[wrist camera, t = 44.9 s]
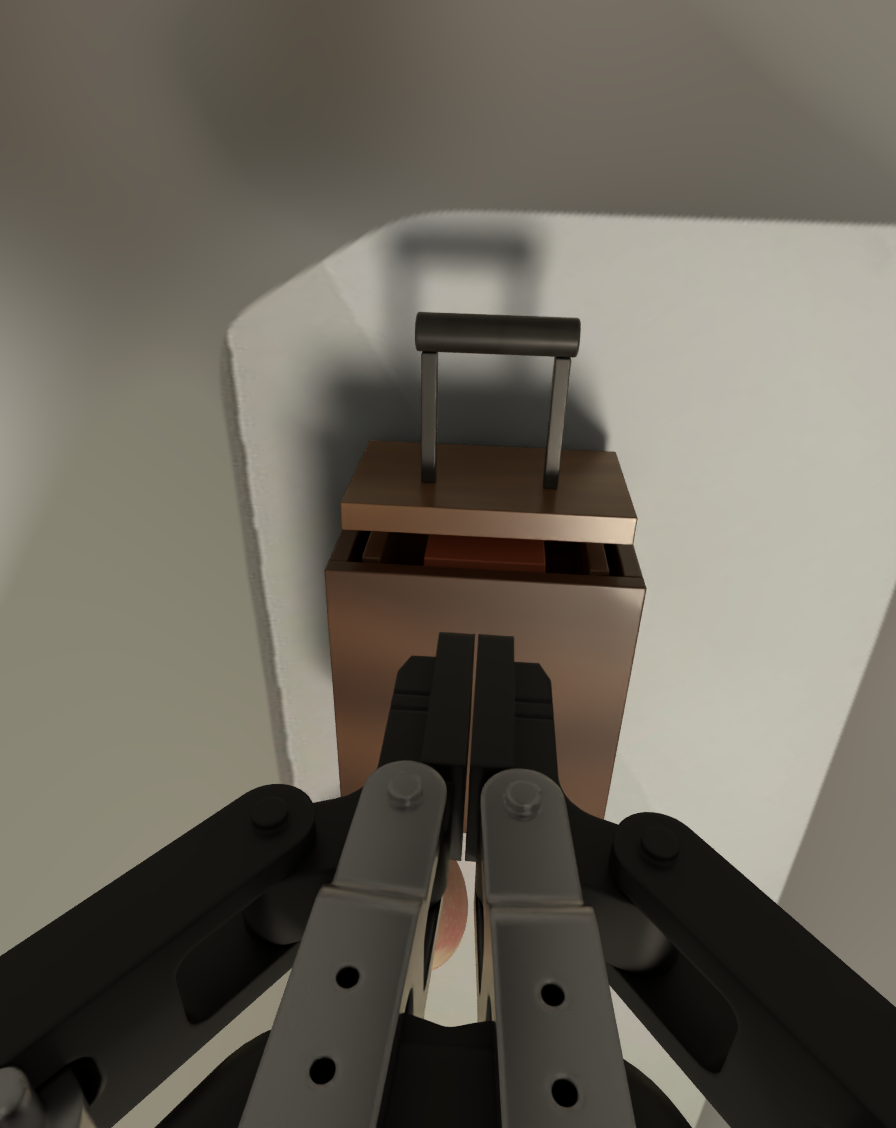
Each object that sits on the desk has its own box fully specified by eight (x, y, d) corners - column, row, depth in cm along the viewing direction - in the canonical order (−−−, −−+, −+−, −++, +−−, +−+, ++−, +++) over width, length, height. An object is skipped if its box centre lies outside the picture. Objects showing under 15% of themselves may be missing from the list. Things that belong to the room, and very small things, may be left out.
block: (434, 504, 35) (423, 557, 30) (541, 510, 34) (545, 564, 30) (433, 595, 37) (423, 655, 33) (533, 600, 37) (536, 661, 33)
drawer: (364, 288, 31) (329, 324, 25) (638, 298, 31) (668, 338, 25) (376, 669, 41) (354, 757, 35) (582, 682, 41) (594, 774, 35)
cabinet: (361, 481, 37) (323, 569, 29) (619, 494, 36) (647, 588, 29) (370, 707, 44) (342, 824, 37) (584, 722, 43) (599, 843, 36)
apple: (341, 864, 51) (314, 977, 44) (376, 793, 48) (352, 905, 41) (447, 897, 52) (437, 1014, 45) (489, 831, 49) (486, 946, 42)
